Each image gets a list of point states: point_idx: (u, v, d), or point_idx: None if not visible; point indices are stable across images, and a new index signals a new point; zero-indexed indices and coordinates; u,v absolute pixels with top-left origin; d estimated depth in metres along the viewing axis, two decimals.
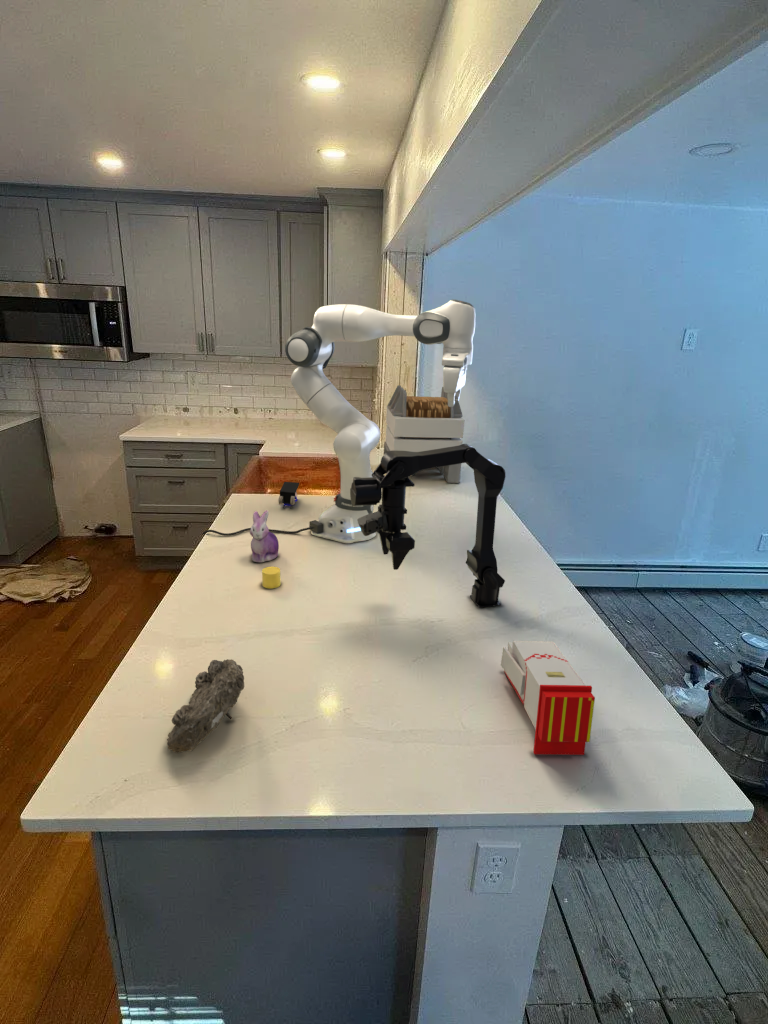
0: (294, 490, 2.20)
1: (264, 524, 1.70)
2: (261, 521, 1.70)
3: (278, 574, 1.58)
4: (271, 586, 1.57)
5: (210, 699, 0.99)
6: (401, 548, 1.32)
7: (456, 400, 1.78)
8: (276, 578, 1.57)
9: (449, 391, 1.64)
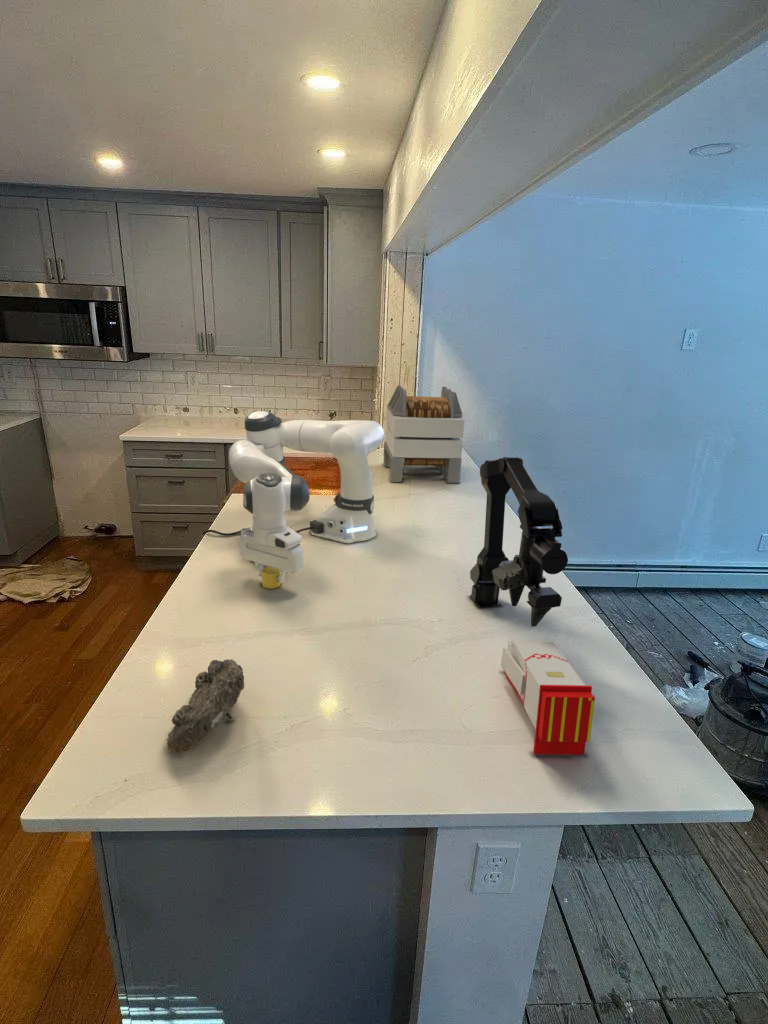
0: None
1: None
2: None
3: (278, 574, 1.58)
4: (271, 586, 1.57)
5: (210, 699, 0.99)
6: (548, 606, 1.20)
7: None
8: (275, 578, 1.57)
9: None
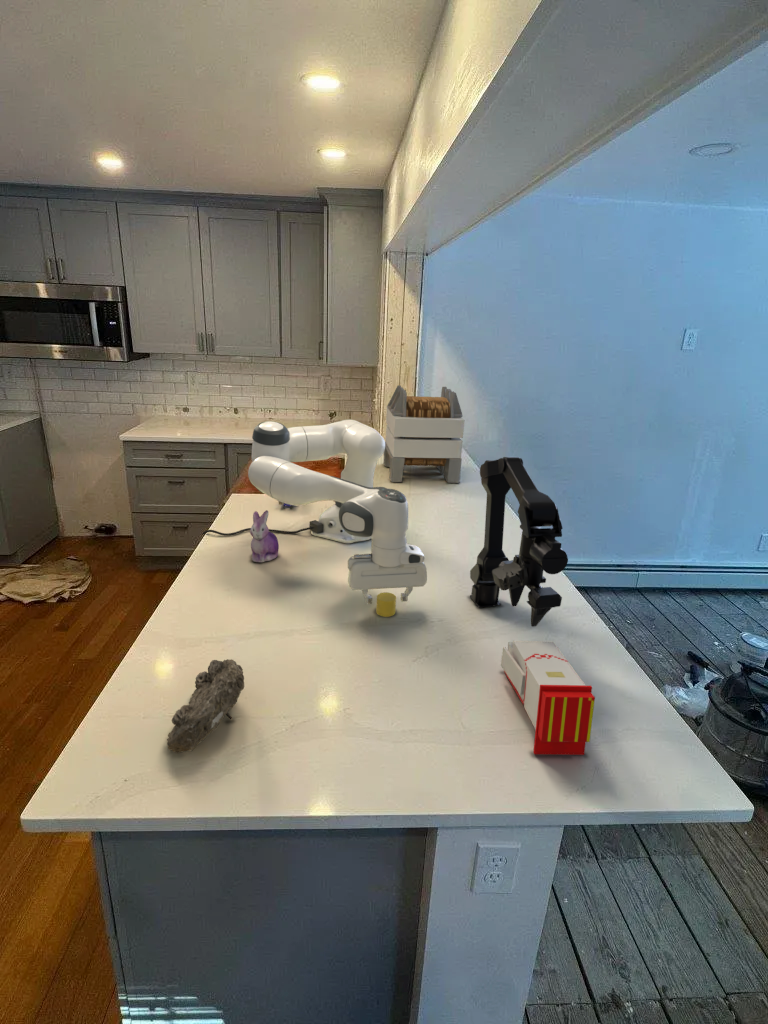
0: None
1: (264, 524, 1.70)
2: (261, 521, 1.70)
3: None
4: (393, 613, 1.47)
5: (210, 699, 0.99)
6: (548, 606, 1.20)
7: None
8: (395, 602, 1.47)
9: None
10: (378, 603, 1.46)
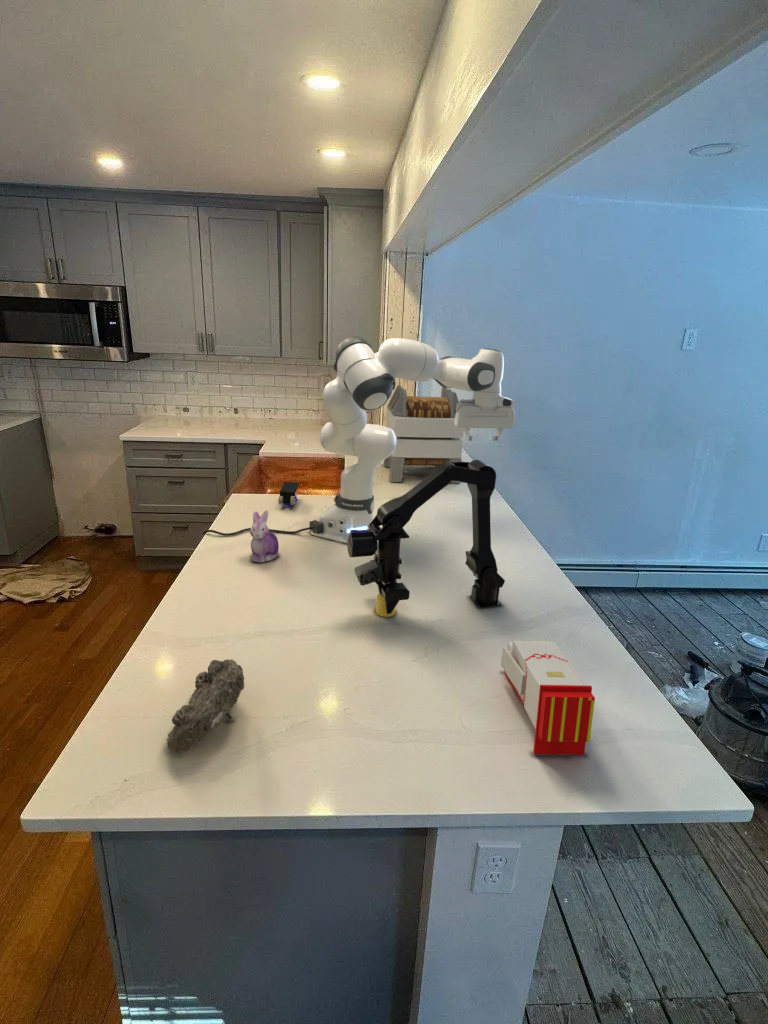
0: (294, 490, 2.20)
1: (264, 524, 1.70)
2: (261, 521, 1.70)
3: None
4: (393, 613, 1.47)
5: (210, 699, 0.99)
6: (396, 599, 1.37)
7: None
8: None
9: None
10: (378, 603, 1.46)
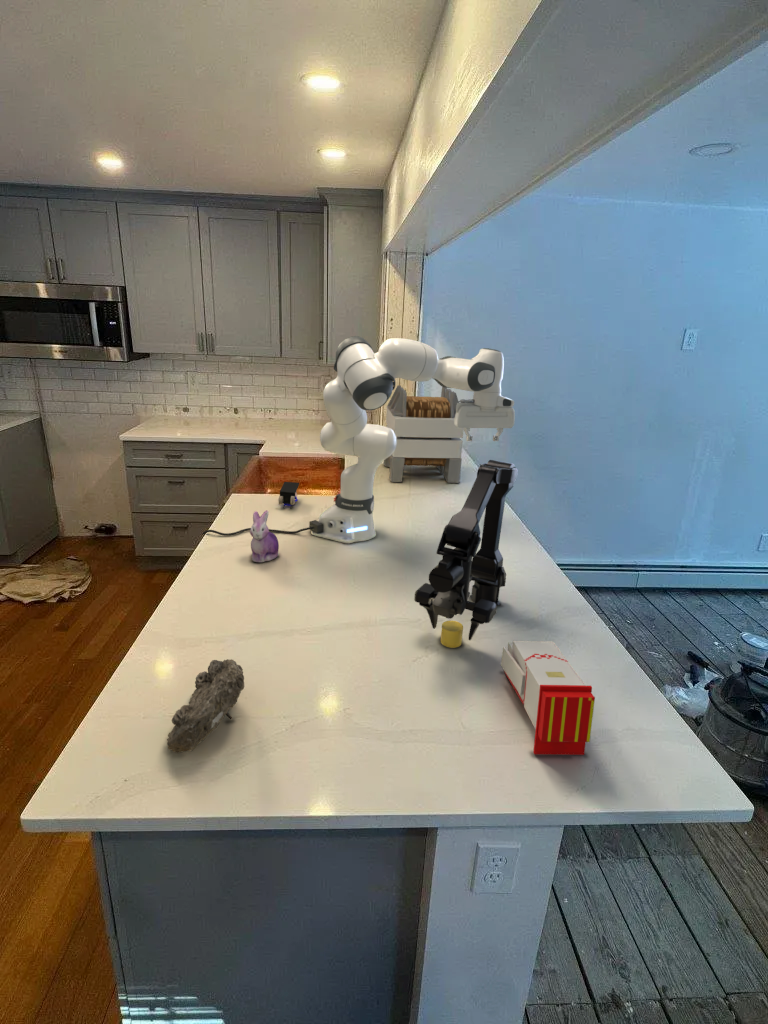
0: (294, 490, 2.20)
1: (264, 524, 1.70)
2: (261, 521, 1.70)
3: None
4: None
5: (210, 699, 0.99)
6: (492, 617, 1.28)
7: None
8: None
9: None
10: (451, 635, 1.33)
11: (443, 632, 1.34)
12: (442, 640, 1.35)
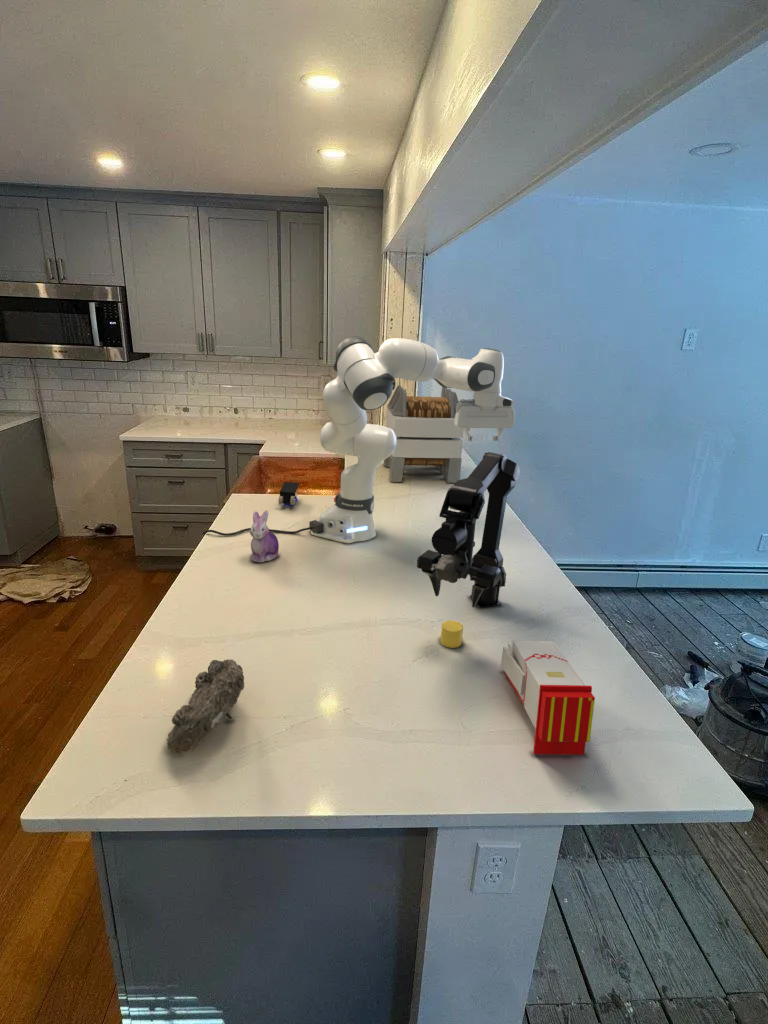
0: (294, 490, 2.20)
1: (264, 524, 1.70)
2: (261, 521, 1.70)
3: None
4: None
5: (210, 699, 0.99)
6: (496, 582, 1.25)
7: None
8: None
9: None
10: (451, 635, 1.33)
11: (443, 632, 1.34)
12: (442, 640, 1.35)
